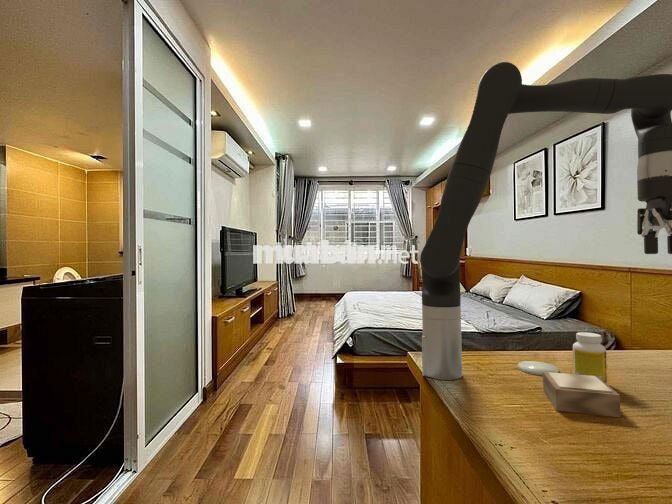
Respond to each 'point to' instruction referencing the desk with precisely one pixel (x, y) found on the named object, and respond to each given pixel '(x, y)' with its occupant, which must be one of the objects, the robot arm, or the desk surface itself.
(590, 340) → the pill bottle
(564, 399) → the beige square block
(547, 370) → the pale white disc
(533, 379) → the desk surface
